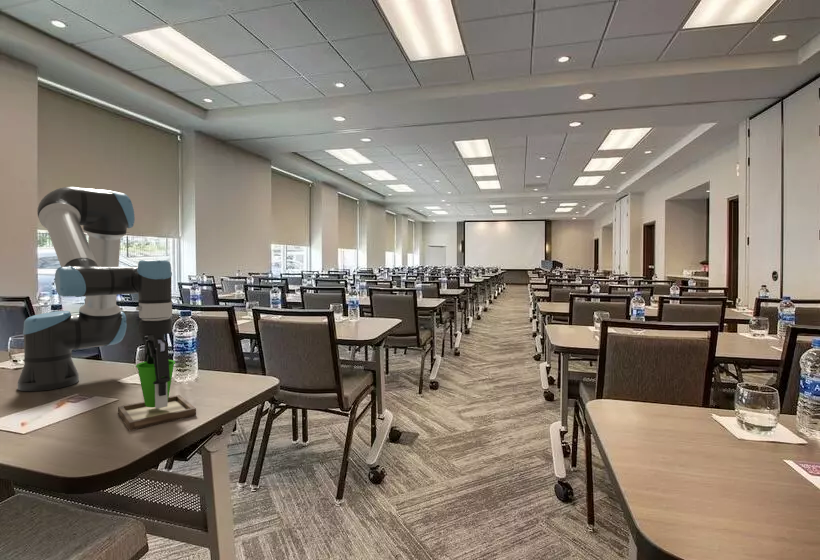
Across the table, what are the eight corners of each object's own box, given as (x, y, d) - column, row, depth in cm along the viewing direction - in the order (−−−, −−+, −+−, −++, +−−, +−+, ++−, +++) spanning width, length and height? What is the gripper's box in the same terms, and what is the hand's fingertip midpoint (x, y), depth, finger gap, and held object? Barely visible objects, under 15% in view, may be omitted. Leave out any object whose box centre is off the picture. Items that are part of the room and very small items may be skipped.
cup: (158, 411, 108) (157, 368, 108) (127, 408, 110) (127, 366, 110) (183, 400, 117) (183, 360, 117) (155, 397, 119) (154, 358, 118)
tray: (117, 413, 114) (117, 406, 114) (179, 401, 124) (179, 394, 124) (129, 430, 103) (129, 422, 103) (196, 415, 114) (196, 408, 113)
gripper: (130, 315, 118) (131, 395, 119) (149, 324, 102) (150, 417, 103) (160, 313, 123) (161, 389, 124) (183, 322, 107) (184, 410, 108)
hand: (156, 402), depth 114 cm, fingers closed on cup, 9 cm apart
